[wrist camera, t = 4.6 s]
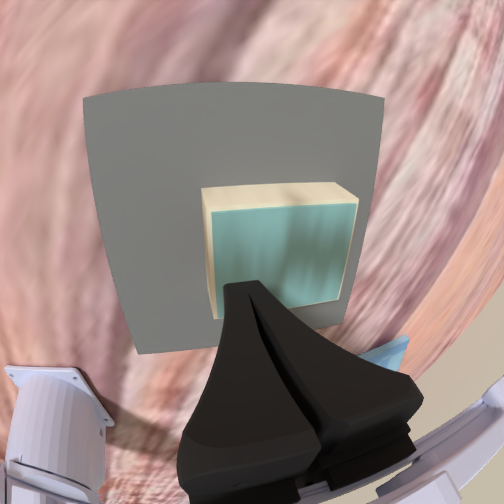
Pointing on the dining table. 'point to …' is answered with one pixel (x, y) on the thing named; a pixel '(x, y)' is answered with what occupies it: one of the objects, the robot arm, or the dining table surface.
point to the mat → (213, 175)
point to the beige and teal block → (278, 239)
